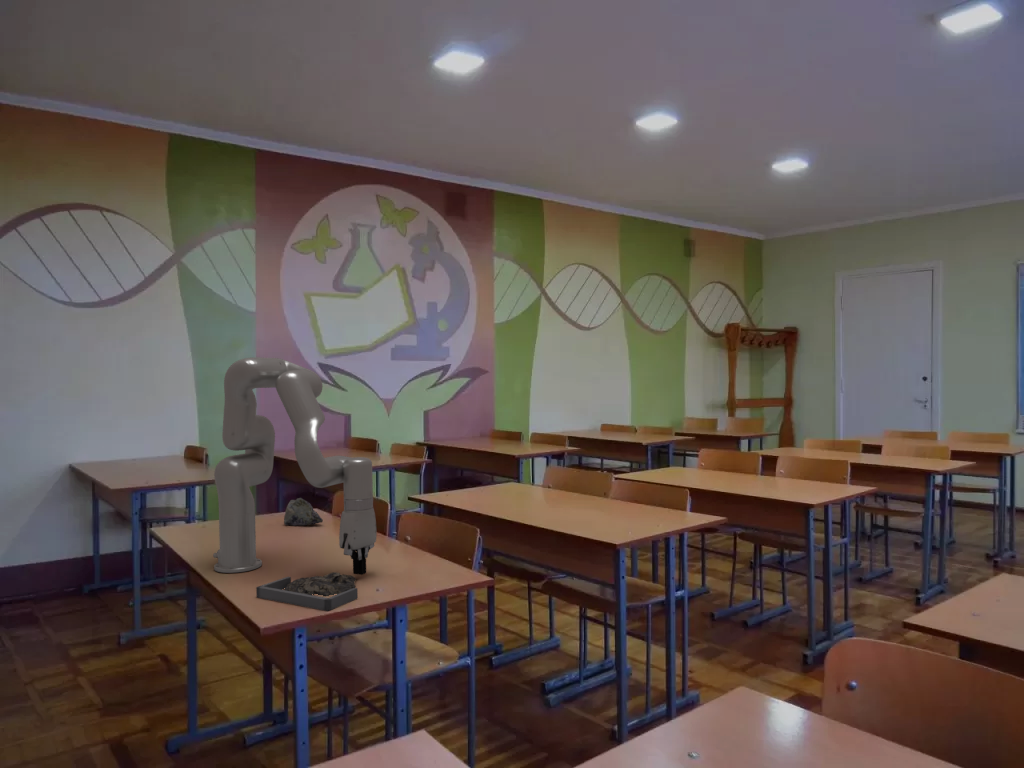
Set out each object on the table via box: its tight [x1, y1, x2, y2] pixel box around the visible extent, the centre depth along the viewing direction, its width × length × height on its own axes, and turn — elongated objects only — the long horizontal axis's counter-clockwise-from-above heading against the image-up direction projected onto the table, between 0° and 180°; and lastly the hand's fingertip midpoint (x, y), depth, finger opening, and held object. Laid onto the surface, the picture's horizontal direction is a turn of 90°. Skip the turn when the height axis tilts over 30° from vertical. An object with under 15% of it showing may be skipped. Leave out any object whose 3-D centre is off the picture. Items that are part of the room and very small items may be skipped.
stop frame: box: [255, 576, 359, 612], centre depth 175 cm, size 23×10×2 cm, turn 61°
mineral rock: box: [283, 497, 324, 526], centre depth 260 cm, size 13×11×10 cm
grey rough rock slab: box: [283, 571, 357, 597], centre depth 183 cm, size 19×4×15 cm
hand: (359, 573), depth 192 cm, fingers closed
